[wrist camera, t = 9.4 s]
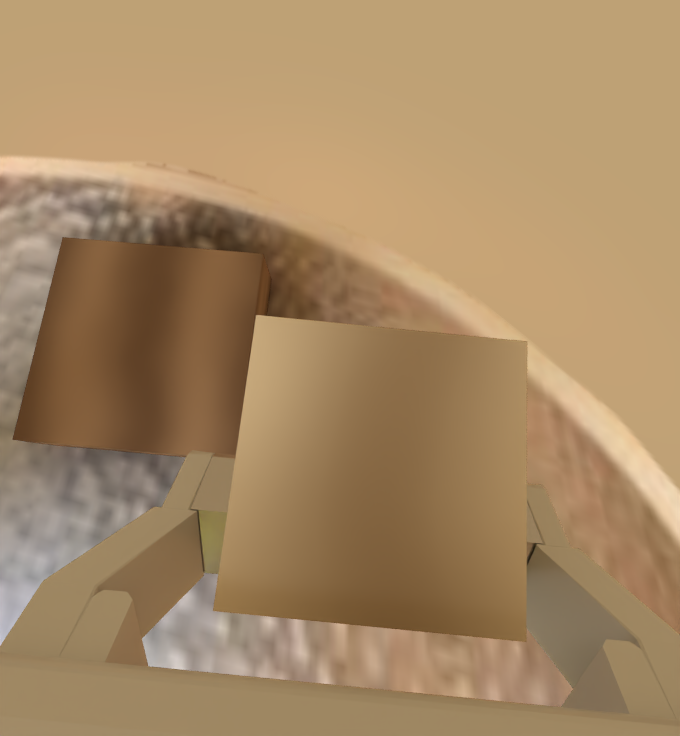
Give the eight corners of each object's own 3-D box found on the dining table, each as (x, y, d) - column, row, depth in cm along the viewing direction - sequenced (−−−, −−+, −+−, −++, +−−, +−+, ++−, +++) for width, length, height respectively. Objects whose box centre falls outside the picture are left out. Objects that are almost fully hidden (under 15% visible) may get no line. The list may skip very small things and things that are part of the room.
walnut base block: (55, 445, 29) (12, 439, 26) (95, 267, 32) (62, 237, 28) (248, 462, 29) (234, 459, 25) (272, 281, 32) (263, 253, 28)
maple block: (275, 542, 14) (213, 610, 7) (293, 399, 16) (256, 314, 8) (420, 557, 14) (526, 641, 7) (428, 413, 15) (527, 341, 8)
